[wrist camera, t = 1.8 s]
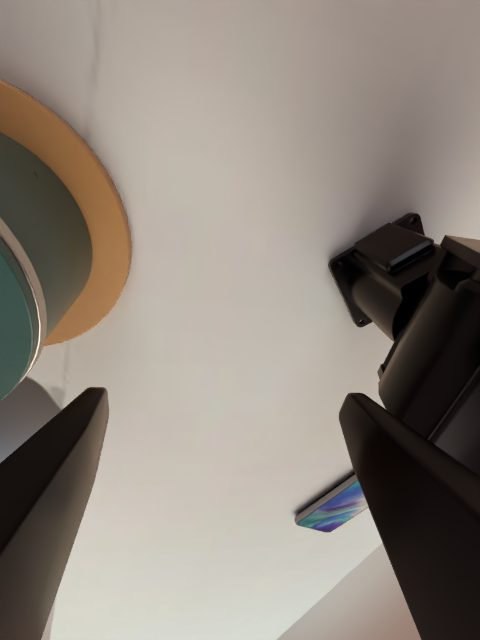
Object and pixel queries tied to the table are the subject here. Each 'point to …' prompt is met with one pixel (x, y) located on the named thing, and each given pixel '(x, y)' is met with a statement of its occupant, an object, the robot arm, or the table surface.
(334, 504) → the smartphone
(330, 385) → the table surface
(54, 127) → the saucepan
